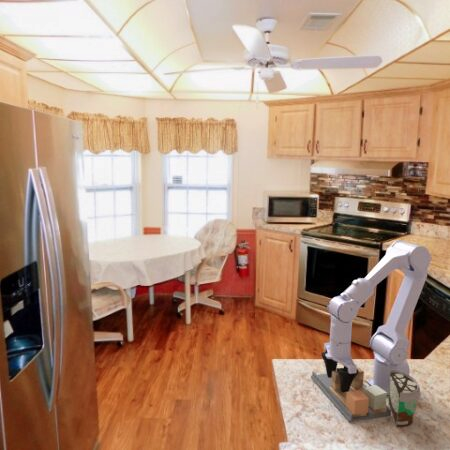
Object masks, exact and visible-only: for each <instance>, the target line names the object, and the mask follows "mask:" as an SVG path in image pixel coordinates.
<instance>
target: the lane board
mask: <svg viewBox="0 0 450 450" xmlns="http://www.w3.org/2000/svg"><path fill="white" fill-rule="evenodd" d="M311 372H312V373H311V374H312V375H310V379H312V380H313V382H314V383H315V384H316V385H317V387H318V388H319V389H320V390H321V391H322V392H323V394H324V395H325V396H326V398H327V399H328V400H329V401H330V402H331V403H332V404H333V406H335V408H336V409H337V411H338V412H339V413H340V414H341V415H342V416H343V417H344V419H345V420H346V421H347V422H348V423H355V422H360V421H367V420H373V419H380V418H387V417H390V416H392V414H391V409H390V408H389V405H388V404H386V408H387V412H385V413H378V414H373V411H372V410H371V409H370V408H369V407H368V413H367V414H366V416H359V417H353V415H352V414H351V413H350V412H349V410H348V409H347V408H346V407H345V406H344V405H343V404H342V402H341V401H340V400H339V399H338V398H337V397H336V396H335V395H334V393H333V392H332V391H331V390H330V389H329V387H331V382H332V378H328V376H327V373H323V374H321V373H320V374H317V373H316V372H315V371H311ZM363 386H364V387H365V388H366V387H368V386H367V385H366V384H365V383H364V382H363ZM349 391H352V390H351V389H349Z"/></svg>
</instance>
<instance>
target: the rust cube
mask: <svg viewBox="0 0 450 450" xmlns="http://www.w3.org/2000/svg"><path fill="white" fill-rule="evenodd" d="M368 405H369V398H368V397H367V396H366V395H365V394H364V393H363V392H362V391H361V390H357V391H349V392H347V395H346V406H347V408H348V409H349V410H350V411H351V412H352V413H353V414H354V415H358V414H364V413H368Z"/></svg>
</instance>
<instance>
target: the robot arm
mask: <svg viewBox="0 0 450 450" xmlns="http://www.w3.org/2000/svg"><path fill="white" fill-rule="evenodd" d="M385 251H386V252H385V255H384V256H383V257H382V258H381V259H380V260H379V262H378V263H377V264H376V265H375V266H374V267H373V268H372V269H371V270H370V271H369V273H368V274H367V275H366V276H365V277H364V278H363V277H362V278H361V277H358V278H357V279H354V280H353V281H352V282H351V285H349V286H348V287H347V288H346V289H345V290H344V291H343V292H342V293H340V295H337V296H334V297H333V298H331V299H330V301H329V304H328V305H326V307H327V308H326V309H327V311H328V312H329V315H330V329H329V342H324V343H323V349H324V351H323V352H320V355H321V358H322V359H323V363H324V366H325V371H326V372H325V373H326V374H327V376H328V378H332V371H338V374H339V378H340V389H341V392H342V393H344V392H349V389H350V386H351V384H352V381H353V380H354V378H355V377H356V375H357V374H358V372H359V371H358V370H357V368H358V367H357V365H356V364H355V362H354V360H353V357H352V354H351V345H352V330H353V326H352V325H353V320H355V319H356V318H357V316H358V312H359V310H360V308H361V306H362V305H364V304H365V303H366V301H367V300H369V299H370V298H371V296H373V295H374V293H375V287H376V286H377V285H378V284H379V283H381V282H382V281H383V280H384V279H386V278H387V277H388V276H389V275H390V274H391V273H393V272H394V271H395V270H402V274H403V275H404V276H403V278H402V282H401V285H400V287H399V289H398V291H397V295H396V298H395V300H394V302H393V305H392V307H391V310H390V313H389V315H388V317H387V320H386V323H385V324H383V325H380V326H378V328H377V330H376V332H375V333H374V334H373V335H372V336H371V338H370V341H369V346H370V348H371V350H372V351H373V355H374V361H373V375H372V376H373V377H372V378H371V379H366V383H367V384H368V385H369V386H373V385H377V386H378V387H380V388H381V389H383V390H384V391H385V392H387V396H389V382H390V376H389V373H390V370H396V371H400V372H403V373H405V374H408V375H409V376H410V373H411V372H410V366H409V363H408V361H407V358H408V355H409V354H408V353H409V351H408V350H409V346H410V341H409V339H408V336H407V334H406V331H407V328H408V326H409V324H410V321H411V319H412V315H413V313H414V310H415V308H416V306H417V303H418V300H419V298H420V295H421V294H422V291H423V288H424V285H425V284H426V283H425V282H426V280H427V277H428V269H429V267H430V264H431V261H432V259H433V258H432V254H431V253H430V251H429V249H428V248H427V247H426V246H425V245H418V244H414V243H409V242H407V241H404V240H402V239H401V240H400V239H398V240H395V241H394V242H393V243H391V245H390V246H389V247H388V248H387V249H386V250H385ZM339 364H340V365H342V366H343V367H339V368H338V365H339Z"/></svg>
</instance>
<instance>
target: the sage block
mask: <svg viewBox="0 0 450 450" xmlns="http://www.w3.org/2000/svg"><path fill="white" fill-rule="evenodd" d="M364 394H365V395H366V396H367V397H368V398H369V406H370V407H371V408H372V409H374V410H376V409H379V408H382V407H386V405H387V400H388V399H387V396H388V395H387V392H385V391H384V390H383V389H381V388H380V387H378V386H377V385H373V386H371V385H369V386H367V387H366V388H364Z"/></svg>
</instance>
